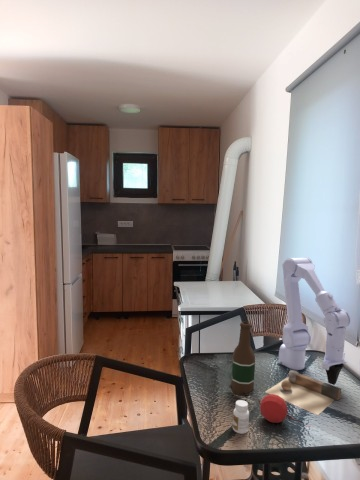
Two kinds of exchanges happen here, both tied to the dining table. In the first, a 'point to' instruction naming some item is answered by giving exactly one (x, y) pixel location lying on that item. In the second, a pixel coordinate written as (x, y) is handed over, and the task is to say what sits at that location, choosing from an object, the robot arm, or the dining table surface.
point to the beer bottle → (243, 363)
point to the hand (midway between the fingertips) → (332, 383)
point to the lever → (315, 385)
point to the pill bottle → (241, 417)
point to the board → (301, 396)
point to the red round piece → (273, 408)
